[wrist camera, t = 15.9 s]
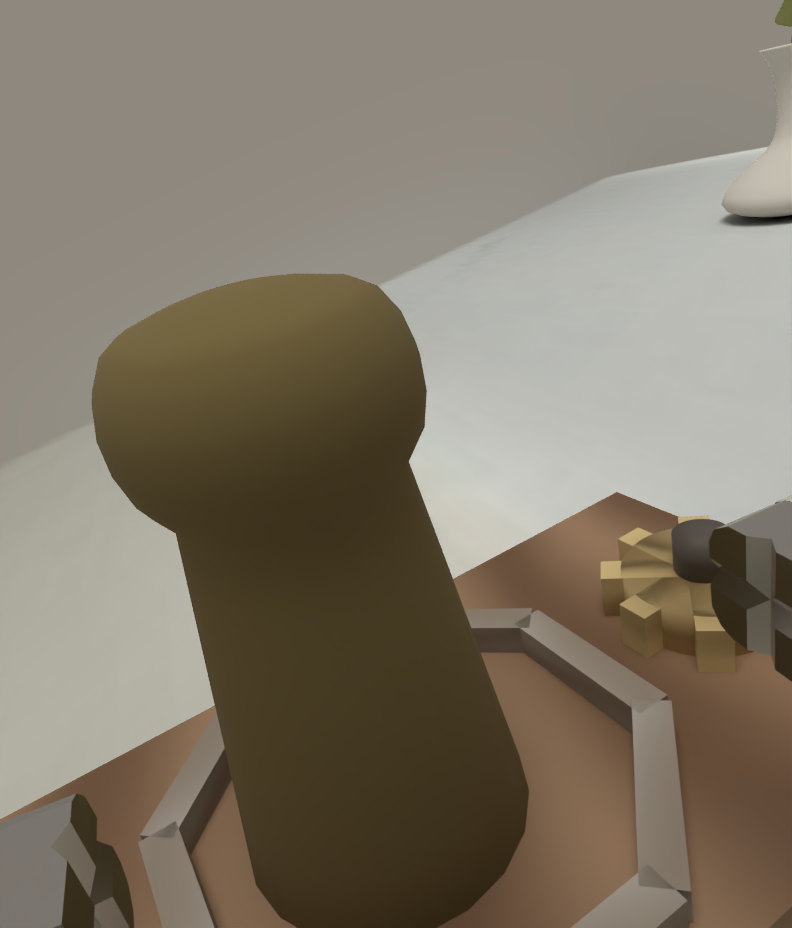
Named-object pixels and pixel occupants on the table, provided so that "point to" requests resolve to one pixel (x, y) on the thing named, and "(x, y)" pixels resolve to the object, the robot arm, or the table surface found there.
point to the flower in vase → (786, 159)
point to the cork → (319, 595)
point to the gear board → (542, 751)
